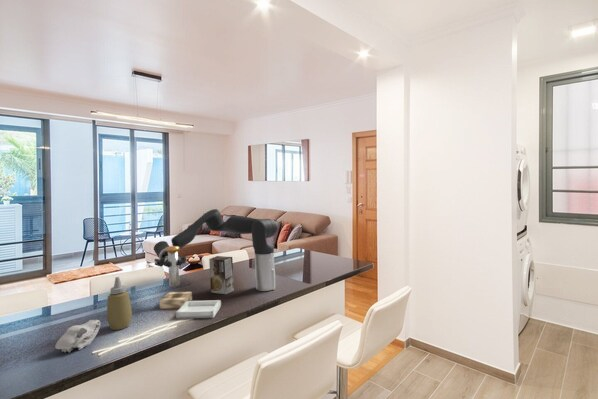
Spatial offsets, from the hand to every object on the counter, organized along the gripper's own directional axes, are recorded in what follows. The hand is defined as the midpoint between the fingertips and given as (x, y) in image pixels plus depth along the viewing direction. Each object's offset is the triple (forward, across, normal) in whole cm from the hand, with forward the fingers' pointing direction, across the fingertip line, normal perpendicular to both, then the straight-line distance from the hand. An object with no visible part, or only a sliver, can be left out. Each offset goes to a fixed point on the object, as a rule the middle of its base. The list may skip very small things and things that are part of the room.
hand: (174, 264), depth 137 cm
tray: (+13, -7, -18) cm, 23 cm away
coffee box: (-8, -22, -18) cm, 29 cm away
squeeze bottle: (+11, +21, -18) cm, 30 cm away
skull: (+20, +32, -18) cm, 42 cm away
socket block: (-3, 0, -18) cm, 18 cm away
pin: (-3, 0, -10) cm, 10 cm away
